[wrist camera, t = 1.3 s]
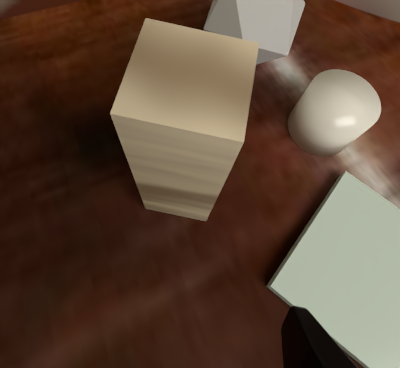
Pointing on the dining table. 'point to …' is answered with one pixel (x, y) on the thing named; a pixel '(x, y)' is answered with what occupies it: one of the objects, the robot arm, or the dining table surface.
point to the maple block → (184, 114)
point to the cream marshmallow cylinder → (333, 112)
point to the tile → (349, 272)
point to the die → (258, 23)
